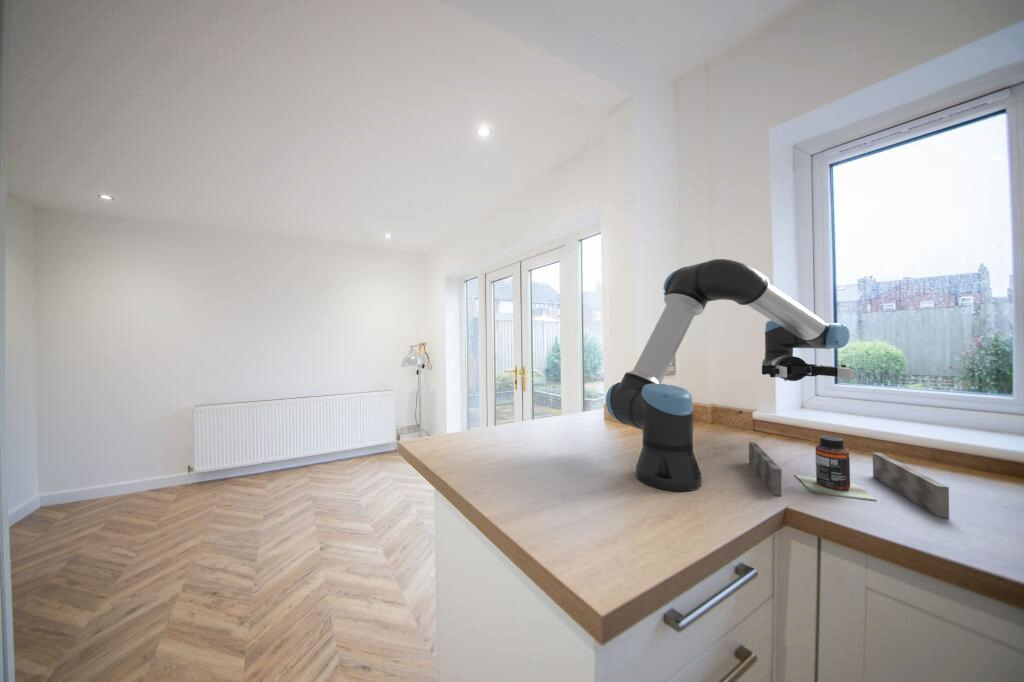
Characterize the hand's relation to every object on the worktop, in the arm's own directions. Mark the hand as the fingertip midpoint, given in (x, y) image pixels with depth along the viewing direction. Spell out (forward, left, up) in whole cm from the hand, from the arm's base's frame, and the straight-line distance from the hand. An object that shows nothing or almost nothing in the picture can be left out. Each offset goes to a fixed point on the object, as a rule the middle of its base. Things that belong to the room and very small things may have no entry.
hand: (817, 373), depth 89 cm
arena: (+6, -5, -26) cm, 27 cm away
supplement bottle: (+6, -5, -26) cm, 27 cm away
